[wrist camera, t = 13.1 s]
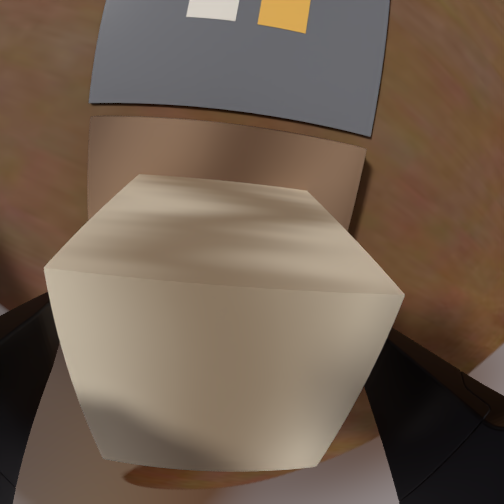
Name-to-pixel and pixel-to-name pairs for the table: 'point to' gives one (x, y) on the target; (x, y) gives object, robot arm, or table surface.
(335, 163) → the walnut pad
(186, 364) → the maple block
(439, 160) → the table surface
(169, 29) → the gray tile
